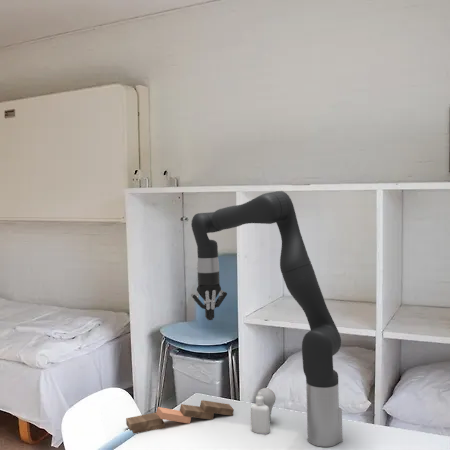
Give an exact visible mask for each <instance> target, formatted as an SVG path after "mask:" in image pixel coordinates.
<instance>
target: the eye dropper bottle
mask: <svg viewBox="0 0 450 450" xmlns="http://www.w3.org/2000/svg"><path fill="white" fill-rule="evenodd" d="M257 393H258V392H257ZM256 396H257V395H256ZM270 422H271V420H270V415H269V407H268V406H266V405H265V404H264V397H263V396H261V393H260V392H259V393H258V396H257V397H255V403H254V404H252V405H251V406H250V431H251V432H253V433H256V434H261V435H262V434H263V435H265V434H266V435H267V434H268V433H269V432H271V423H270Z"/></svg>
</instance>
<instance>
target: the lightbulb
mask: <svg viewBox="0 0 450 450" xmlns="http://www.w3.org/2000/svg"><path fill="white" fill-rule="evenodd" d="M259 392H260V393H261V396H263V397H264V404H265V405H266V406H268V407H269V415H270V421H271V420H272V419H271V418H272V417H271V415H272V410H273V407H274V405H275V403H276V400H277V397H276V394H275V392H274V390H272V389H271V388H270V387H269V388H267V387H263V388H261V389H259V390H257V393H256V397H257V396H258V393H259ZM256 397H255V398H256Z"/></svg>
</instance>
